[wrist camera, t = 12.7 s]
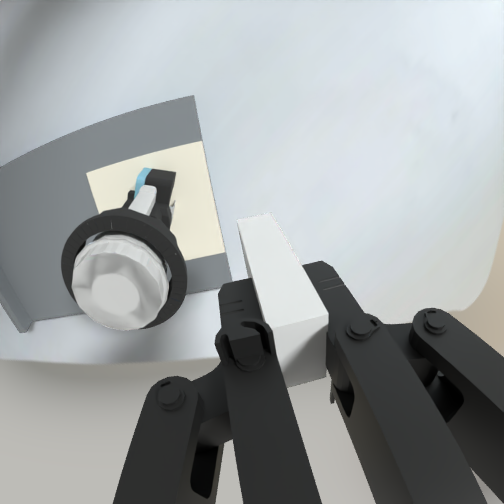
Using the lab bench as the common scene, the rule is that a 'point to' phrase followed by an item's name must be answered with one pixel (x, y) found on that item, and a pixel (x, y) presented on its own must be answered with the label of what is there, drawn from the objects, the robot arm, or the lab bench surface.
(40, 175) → the grey lipped board
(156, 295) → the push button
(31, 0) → the lab bench surface
